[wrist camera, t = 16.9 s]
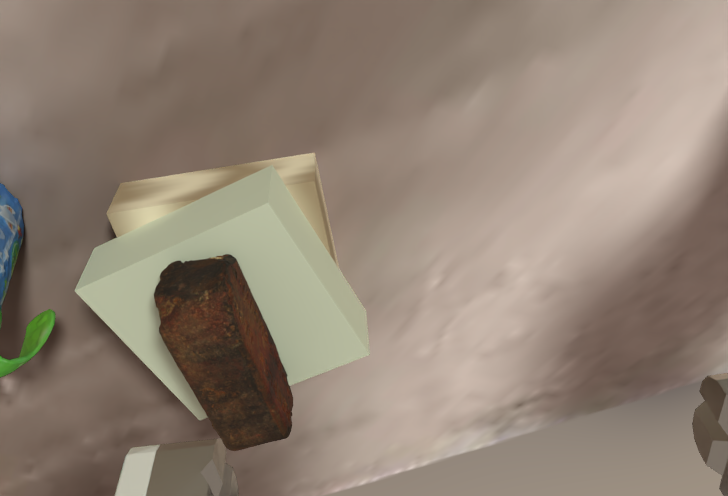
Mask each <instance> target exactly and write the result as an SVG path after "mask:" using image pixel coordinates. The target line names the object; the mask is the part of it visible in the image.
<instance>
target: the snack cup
mask: <svg viewBox="0 0 728 496" xmlns="http://www.w3.org/2000/svg"><path fill="white" fill-rule="evenodd" d="M23 233H24V223H23V219H22V207H21V205H20V203H19V201H18V199H17V198H15V197H13V196H12V194H11V193H10V192H9V191H8V190H7V189H6V188H5V186H4V185H3V184H1V183H0V329H1V321H2V313H1V306H2V304H3V302H4V299H5V296H6V293H7V290H8V286H9V282H10V279H11V277H12V274H13V271H14V267H15V264H16V261H17V258H18V252H19V250H20V247H21V244H22V240H23ZM54 324H55V312H54V311H52V310H51V309H49V310H47V311H44V312H42V313H41V314H40V315H38V316H37V317H35V318H34V319H33V320H32V321H31V322H30V323H29V324H28V326H27V328H26V335H25V338H24V342H23V345H22V349H21V353H20V356H19V358H14V359H10V360H8V359H5V358H3V357H1V355H0V377H3V376H5V375H7V374H9V373H11V372H13V371H15V370H16V369H18V368H19V367H20V366H22V365H23V364H25V363H26V362H28V361H29V360H30V359H31V358H32V357H33V356H35V355H36V354H37V352H38V351H39V350H40V349H41V348H42V346H43V345H44V344H45V342H46V341H47V339H48V337H49V335H50V333H51V331H52V329H53V327H54Z"/></svg>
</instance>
